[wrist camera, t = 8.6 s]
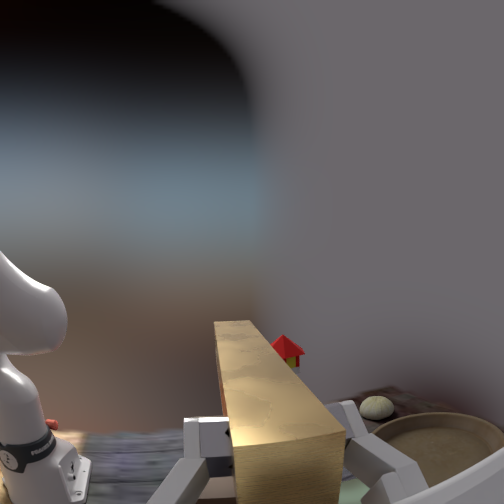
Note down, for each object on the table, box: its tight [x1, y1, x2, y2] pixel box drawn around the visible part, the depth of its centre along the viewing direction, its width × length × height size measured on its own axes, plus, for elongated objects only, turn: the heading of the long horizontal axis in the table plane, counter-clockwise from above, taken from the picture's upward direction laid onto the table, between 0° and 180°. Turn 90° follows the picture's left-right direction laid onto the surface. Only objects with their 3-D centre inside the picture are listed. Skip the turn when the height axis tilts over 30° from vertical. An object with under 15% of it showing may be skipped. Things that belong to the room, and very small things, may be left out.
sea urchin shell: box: [360, 396, 394, 420], centre depth 72 cm, size 9×8×8 cm
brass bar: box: [214, 320, 346, 504], centre depth 17 cm, size 20×3×3 cm, turn 8°
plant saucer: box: [372, 412, 504, 488], centre depth 46 cm, size 31×31×5 cm
